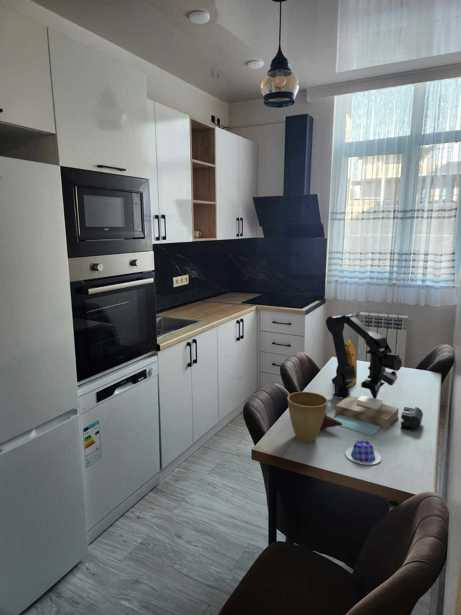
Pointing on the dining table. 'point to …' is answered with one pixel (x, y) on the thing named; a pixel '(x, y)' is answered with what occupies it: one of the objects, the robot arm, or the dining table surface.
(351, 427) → the mat
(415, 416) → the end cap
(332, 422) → the icecream
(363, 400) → the white box
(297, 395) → the plant pot
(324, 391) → the dining table surface
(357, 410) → the tan flat block
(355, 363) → the coffee package
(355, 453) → the pudding
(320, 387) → the dining table surface
